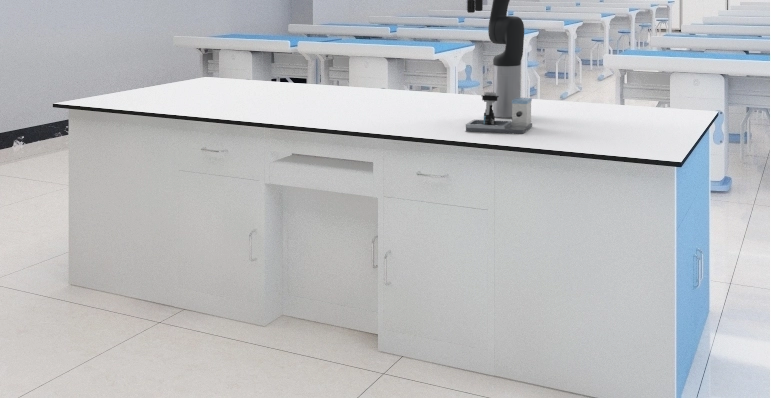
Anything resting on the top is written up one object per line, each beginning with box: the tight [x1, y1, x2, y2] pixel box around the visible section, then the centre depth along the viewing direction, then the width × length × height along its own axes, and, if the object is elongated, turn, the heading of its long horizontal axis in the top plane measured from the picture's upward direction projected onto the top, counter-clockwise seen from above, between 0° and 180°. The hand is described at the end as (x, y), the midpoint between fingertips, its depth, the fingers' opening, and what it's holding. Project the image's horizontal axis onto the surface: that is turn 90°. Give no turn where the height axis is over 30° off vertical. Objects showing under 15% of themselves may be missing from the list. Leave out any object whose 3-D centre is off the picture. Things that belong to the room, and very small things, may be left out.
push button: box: [481, 91, 499, 125], centre depth 289 cm, size 7×5×10 cm
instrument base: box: [465, 97, 533, 135], centre depth 290 cm, size 13×18×9 cm
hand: (475, 11), depth 285 cm, fingers open, 8 cm apart
